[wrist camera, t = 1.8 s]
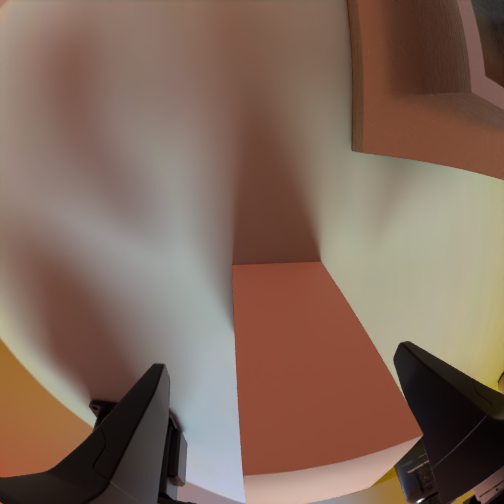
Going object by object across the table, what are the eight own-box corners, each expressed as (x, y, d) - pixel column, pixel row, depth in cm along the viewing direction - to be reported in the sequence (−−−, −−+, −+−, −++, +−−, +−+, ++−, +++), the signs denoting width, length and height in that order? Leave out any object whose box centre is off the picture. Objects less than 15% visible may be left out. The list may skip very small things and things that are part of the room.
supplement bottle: (410, 434, 23) (443, 508, 12) (442, 425, 24) (474, 488, 13) (379, 460, 26) (403, 527, 15) (412, 451, 27) (437, 510, 16)
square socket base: (351, 150, 10) (406, 163, 7) (331, -80, 5) (357, -117, 1) (517, 183, 11) (559, 201, 8) (503, 8, 6) (539, 4, 2)
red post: (235, 334, 14) (246, 509, 6) (232, 264, 12) (242, 475, 4) (311, 329, 14) (368, 487, 6) (321, 261, 12) (423, 434, 4)
